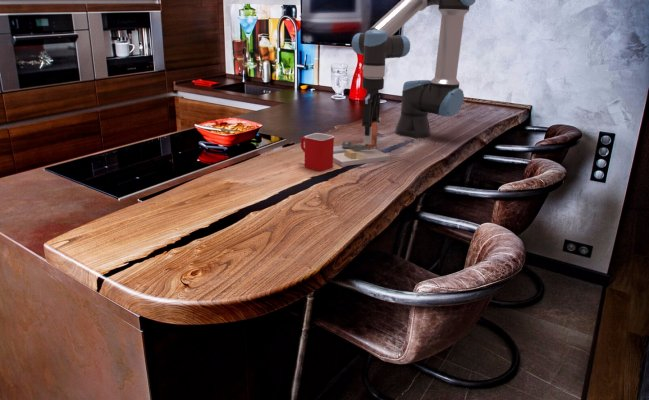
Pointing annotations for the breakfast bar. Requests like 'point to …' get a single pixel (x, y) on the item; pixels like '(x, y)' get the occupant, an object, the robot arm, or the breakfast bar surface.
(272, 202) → the breakfast bar surface
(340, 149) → the jamb strip
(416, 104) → the robot arm
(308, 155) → the mug
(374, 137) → the latch bar
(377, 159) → the door panel
